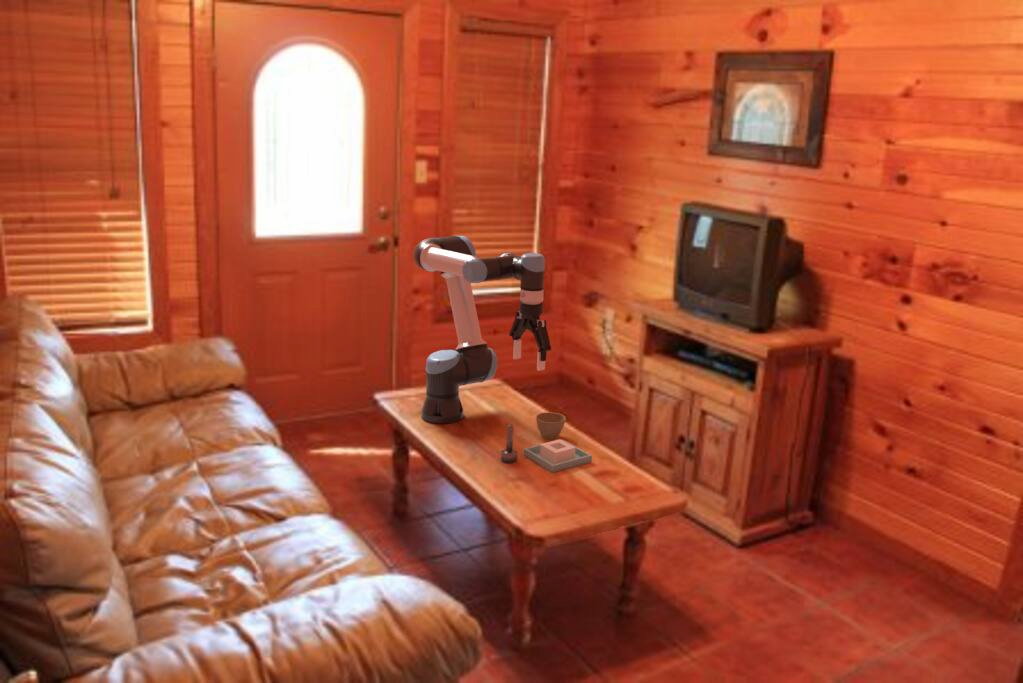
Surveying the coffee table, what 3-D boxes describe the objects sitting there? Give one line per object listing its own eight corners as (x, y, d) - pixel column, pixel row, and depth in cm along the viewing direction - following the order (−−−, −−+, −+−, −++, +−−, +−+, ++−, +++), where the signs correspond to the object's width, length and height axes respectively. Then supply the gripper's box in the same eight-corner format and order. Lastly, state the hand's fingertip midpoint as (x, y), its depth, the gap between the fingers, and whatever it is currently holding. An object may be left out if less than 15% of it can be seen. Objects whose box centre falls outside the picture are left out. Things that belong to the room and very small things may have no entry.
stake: (498, 459, 278) (499, 424, 274) (511, 455, 280) (512, 421, 277) (506, 464, 274) (508, 429, 270) (519, 461, 276) (521, 426, 273)
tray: (523, 455, 281) (523, 448, 280) (561, 445, 290) (562, 439, 289) (552, 473, 269) (552, 465, 268) (591, 462, 277) (592, 455, 277)
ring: (539, 455, 280) (540, 444, 279) (559, 450, 284) (560, 439, 283) (554, 464, 274) (555, 452, 273) (574, 459, 278) (575, 447, 277)
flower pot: (562, 444, 291) (563, 424, 289) (532, 440, 293) (533, 420, 291) (566, 433, 301) (567, 413, 299) (538, 430, 302) (538, 410, 300)
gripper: (500, 294, 289) (498, 355, 295) (544, 311, 269) (541, 376, 275) (518, 292, 293) (516, 352, 299) (564, 309, 273) (560, 373, 279)
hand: (528, 364), depth 287 cm, fingers open, 13 cm apart
